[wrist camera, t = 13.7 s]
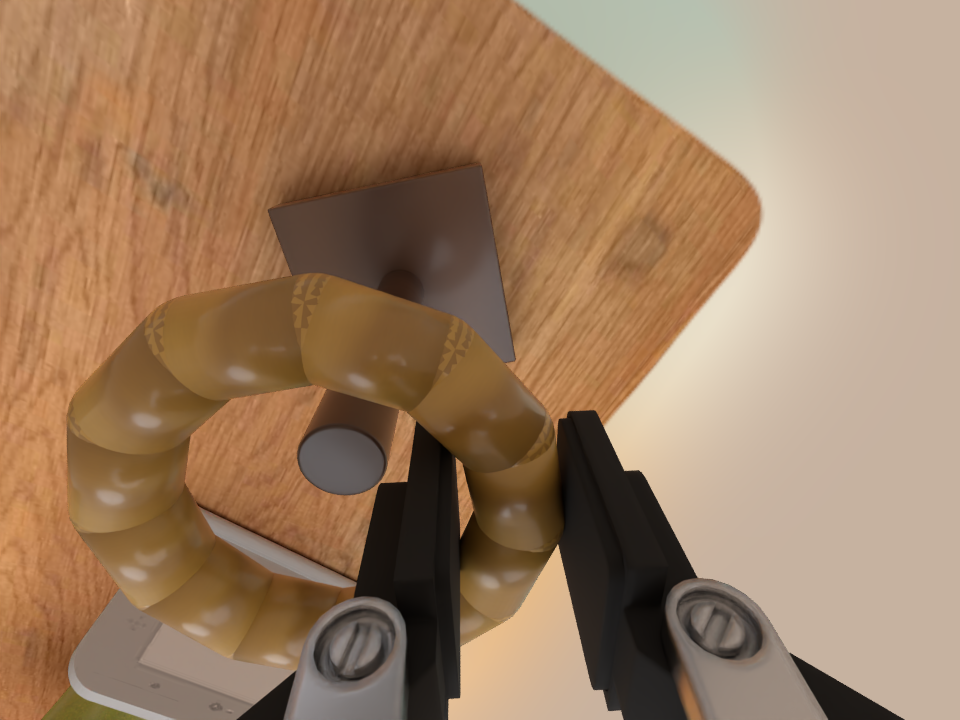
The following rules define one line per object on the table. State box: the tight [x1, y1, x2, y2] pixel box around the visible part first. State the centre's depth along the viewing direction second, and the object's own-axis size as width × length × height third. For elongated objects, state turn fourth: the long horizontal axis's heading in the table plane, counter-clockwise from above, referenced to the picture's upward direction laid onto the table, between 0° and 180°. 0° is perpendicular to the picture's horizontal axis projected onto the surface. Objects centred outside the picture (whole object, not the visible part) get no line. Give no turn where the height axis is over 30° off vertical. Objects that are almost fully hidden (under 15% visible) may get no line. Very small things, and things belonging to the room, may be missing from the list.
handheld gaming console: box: [68, 507, 357, 720], centre depth 27 cm, size 13×9×10 cm
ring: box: [67, 273, 565, 671], centre depth 10 cm, size 9×9×2 cm
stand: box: [268, 163, 516, 495], centre depth 17 cm, size 9×9×14 cm
